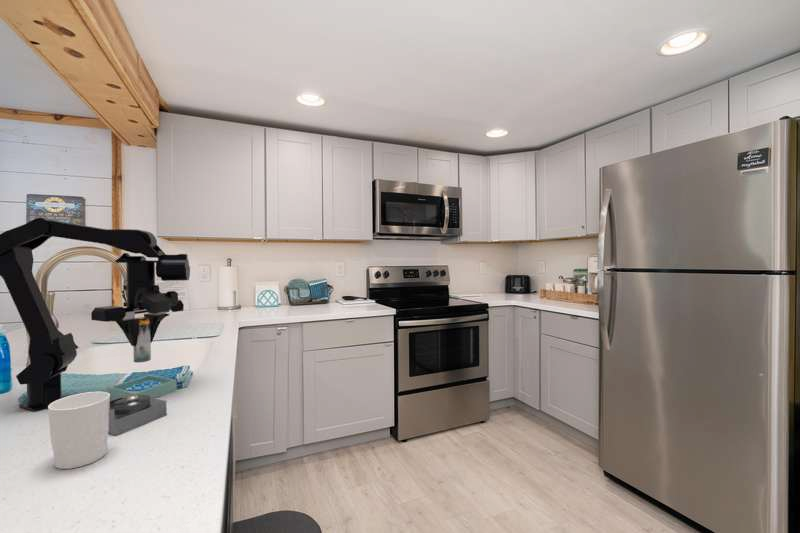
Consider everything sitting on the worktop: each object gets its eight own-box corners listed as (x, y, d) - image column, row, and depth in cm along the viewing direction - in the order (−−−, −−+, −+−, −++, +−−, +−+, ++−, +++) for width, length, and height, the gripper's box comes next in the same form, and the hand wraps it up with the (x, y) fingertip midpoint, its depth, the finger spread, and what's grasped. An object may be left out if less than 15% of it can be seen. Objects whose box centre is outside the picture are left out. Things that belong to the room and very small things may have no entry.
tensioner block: (78, 424, 74) (77, 398, 74) (130, 405, 84) (130, 382, 83) (115, 435, 70) (115, 408, 70) (166, 414, 79) (166, 390, 79)
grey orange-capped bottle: (130, 361, 90) (129, 318, 89) (144, 357, 93) (144, 316, 93) (139, 363, 88) (139, 319, 88) (154, 359, 92) (153, 317, 91)
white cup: (75, 474, 58) (74, 411, 57) (36, 468, 59) (34, 407, 59) (122, 448, 65) (121, 393, 65) (86, 444, 67) (85, 389, 67)
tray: (107, 397, 88) (107, 387, 88) (150, 384, 98) (149, 374, 98) (134, 404, 84) (134, 393, 84) (176, 389, 94) (176, 379, 94)
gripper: (120, 285, 78) (121, 357, 79) (198, 280, 96) (198, 339, 96) (89, 283, 83) (90, 352, 83) (169, 278, 100) (169, 335, 100)
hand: (141, 344), depth 91 cm, fingers closed on grey orange-capped bottle, 3 cm apart
